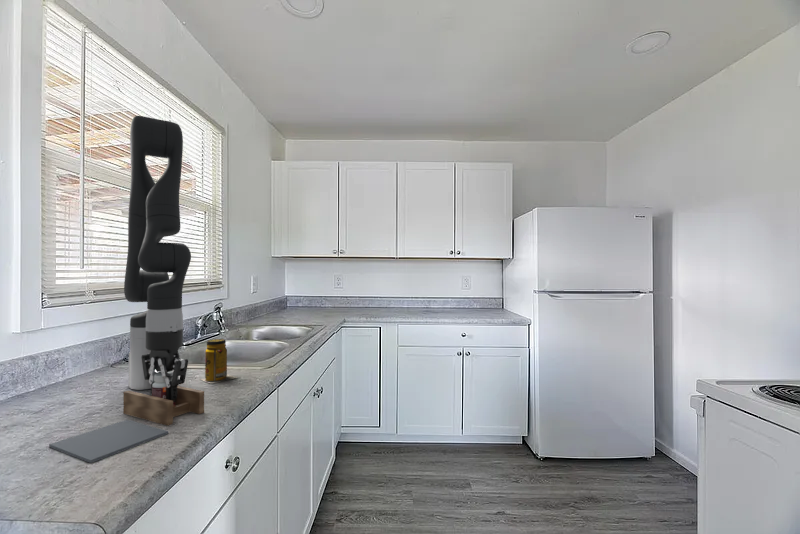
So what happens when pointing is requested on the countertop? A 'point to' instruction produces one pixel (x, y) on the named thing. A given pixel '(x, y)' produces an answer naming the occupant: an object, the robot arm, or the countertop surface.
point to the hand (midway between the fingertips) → (163, 400)
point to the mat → (107, 440)
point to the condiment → (216, 362)
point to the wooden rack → (163, 405)
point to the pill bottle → (160, 386)
